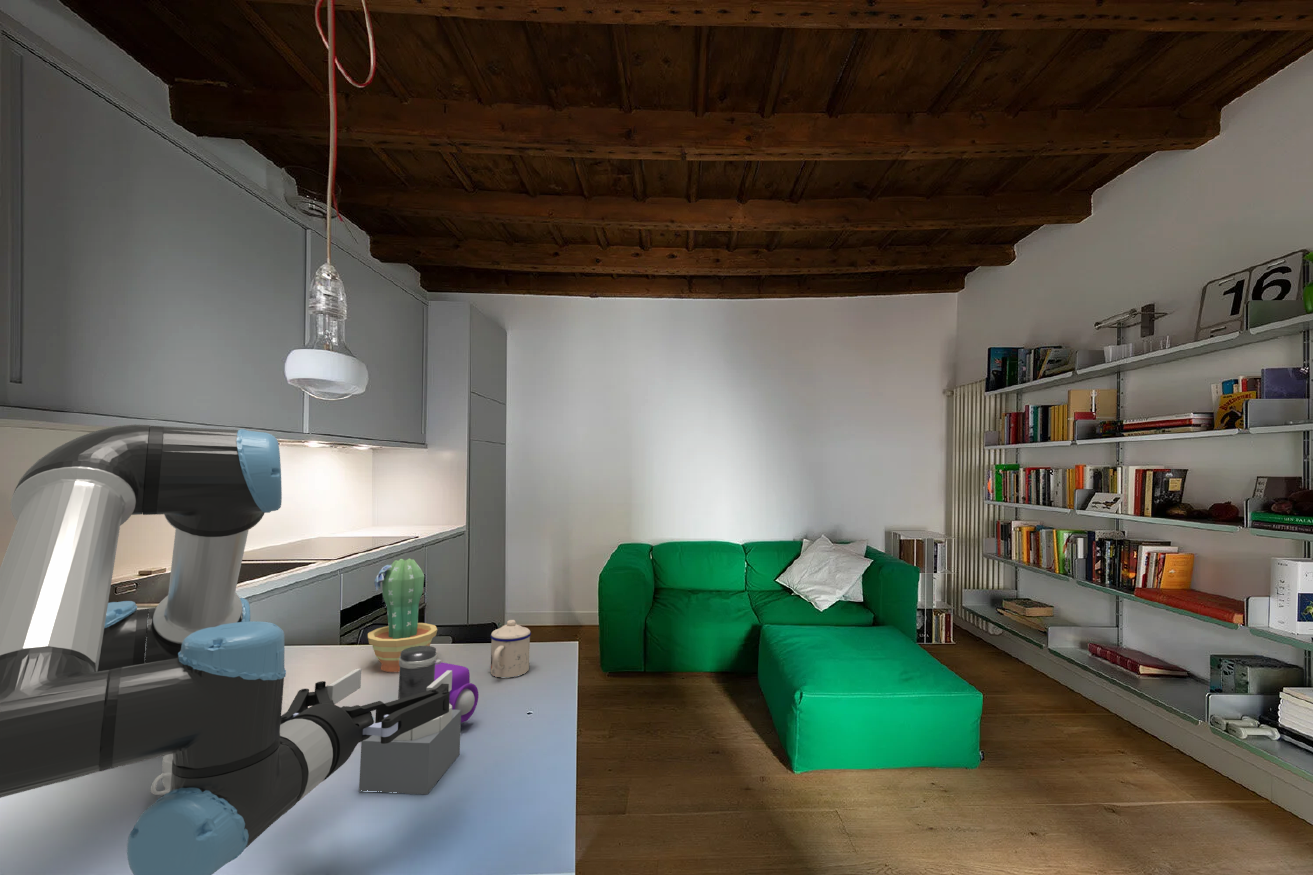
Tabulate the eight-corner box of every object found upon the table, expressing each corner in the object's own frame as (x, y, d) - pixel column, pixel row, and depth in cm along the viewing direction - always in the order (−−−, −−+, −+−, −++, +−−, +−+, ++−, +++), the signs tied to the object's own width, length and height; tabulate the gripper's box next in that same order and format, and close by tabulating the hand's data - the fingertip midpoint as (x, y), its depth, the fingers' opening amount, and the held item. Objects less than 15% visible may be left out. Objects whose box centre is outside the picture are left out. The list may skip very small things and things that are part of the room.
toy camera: (457, 742, 90) (459, 681, 91) (387, 733, 93) (390, 674, 94) (489, 714, 101) (491, 660, 102) (425, 707, 104) (428, 655, 104)
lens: (387, 731, 79) (392, 656, 80) (407, 714, 84) (411, 644, 85) (422, 733, 78) (426, 658, 79) (439, 717, 84) (443, 646, 84)
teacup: (200, 771, 81) (203, 734, 81) (244, 775, 80) (246, 738, 80) (125, 811, 71) (129, 769, 71) (174, 817, 70) (177, 774, 70)
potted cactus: (398, 652, 136) (402, 553, 138) (449, 657, 132) (453, 556, 134) (349, 673, 121) (354, 562, 123) (405, 680, 117) (410, 566, 119)
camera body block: (358, 791, 76) (362, 726, 76) (399, 752, 87) (402, 695, 87) (427, 794, 75) (430, 728, 76) (459, 754, 86) (461, 697, 87)
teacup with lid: (501, 663, 128) (502, 614, 129) (536, 666, 127) (537, 616, 128) (475, 682, 117) (477, 628, 118) (513, 685, 115) (515, 630, 116)
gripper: (186, 786, 57) (319, 703, 78) (415, 793, 56) (486, 707, 77) (192, 713, 57) (322, 651, 78) (418, 719, 56) (488, 654, 78)
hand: (404, 678), depth 78 cm, fingers open, 13 cm apart
